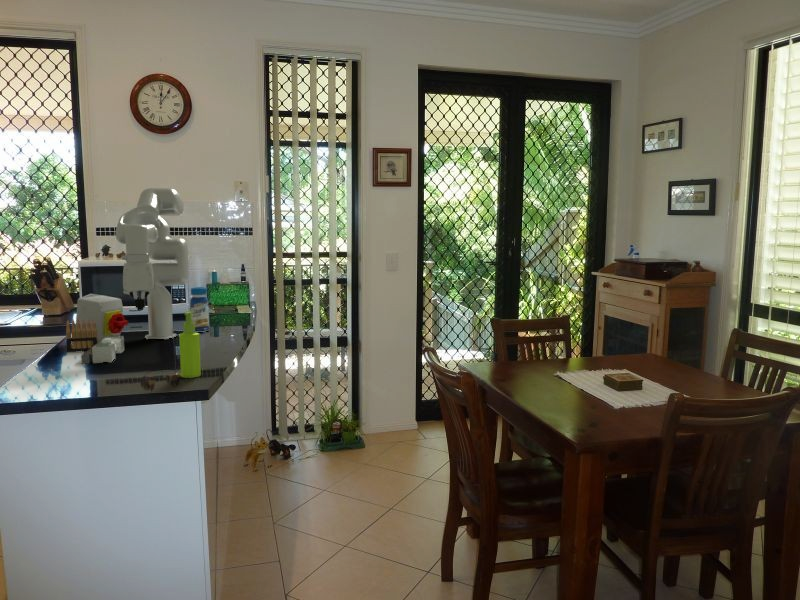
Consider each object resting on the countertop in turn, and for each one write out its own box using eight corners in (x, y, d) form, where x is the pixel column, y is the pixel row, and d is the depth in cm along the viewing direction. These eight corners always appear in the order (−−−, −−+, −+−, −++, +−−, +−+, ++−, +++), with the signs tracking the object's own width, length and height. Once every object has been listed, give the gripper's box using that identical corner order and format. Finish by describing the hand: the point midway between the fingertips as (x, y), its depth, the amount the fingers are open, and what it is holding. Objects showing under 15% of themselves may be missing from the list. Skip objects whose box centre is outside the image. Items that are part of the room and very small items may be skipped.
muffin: (112, 354, 227) (111, 335, 226) (120, 356, 223) (119, 337, 222) (95, 356, 222) (94, 337, 222) (102, 359, 218) (101, 339, 218)
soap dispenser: (204, 372, 196) (201, 310, 194) (197, 377, 190) (195, 312, 188) (185, 372, 196) (182, 310, 194) (178, 377, 189) (175, 313, 187)
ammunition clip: (66, 352, 231) (64, 320, 230) (67, 351, 233) (65, 319, 232) (97, 350, 234) (96, 319, 233) (98, 349, 236) (97, 318, 235)
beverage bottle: (213, 330, 283) (211, 286, 281) (205, 333, 274) (203, 288, 272) (195, 330, 284) (193, 286, 282) (187, 333, 275) (185, 288, 273)
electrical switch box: (107, 351, 244) (111, 301, 241) (74, 344, 246) (77, 295, 244) (130, 345, 258) (134, 298, 255) (98, 338, 261) (102, 292, 258)
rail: (97, 351, 233) (96, 335, 232) (124, 350, 235) (123, 334, 235) (81, 364, 210) (80, 346, 209) (111, 362, 212) (110, 345, 212)
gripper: (113, 260, 217) (116, 312, 219) (158, 259, 220) (161, 310, 223) (117, 258, 224) (120, 309, 226) (161, 258, 228) (163, 307, 230)
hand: (140, 309), depth 224 cm, fingers closed
